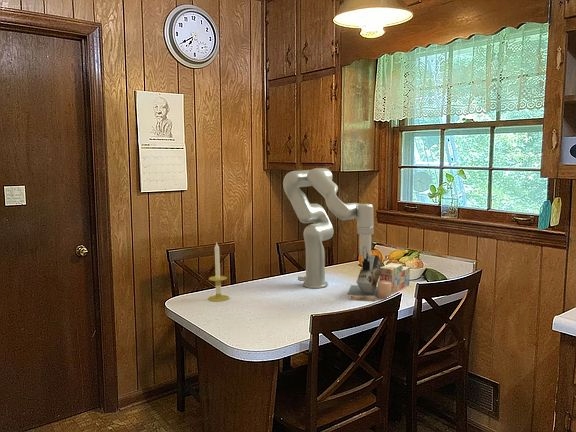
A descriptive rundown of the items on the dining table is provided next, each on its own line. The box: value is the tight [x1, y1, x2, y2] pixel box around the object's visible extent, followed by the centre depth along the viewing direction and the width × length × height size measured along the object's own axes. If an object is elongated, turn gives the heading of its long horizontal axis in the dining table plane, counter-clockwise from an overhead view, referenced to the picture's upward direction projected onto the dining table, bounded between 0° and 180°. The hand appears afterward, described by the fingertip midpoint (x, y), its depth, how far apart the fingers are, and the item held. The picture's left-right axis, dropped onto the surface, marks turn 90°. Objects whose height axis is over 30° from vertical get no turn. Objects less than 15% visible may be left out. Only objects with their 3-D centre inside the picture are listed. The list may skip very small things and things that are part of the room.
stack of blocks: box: [379, 262, 411, 295], centre depth 234 cm, size 21×6×12 cm, turn 143°
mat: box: [347, 284, 378, 297], centre depth 233 cm, size 16×16×1 cm
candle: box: [207, 242, 230, 303], centre depth 223 cm, size 10×10×27 cm
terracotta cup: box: [376, 279, 392, 300], centre depth 221 cm, size 6×6×7 cm
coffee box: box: [356, 254, 384, 294], centre depth 229 cm, size 9×6×16 cm
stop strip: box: [350, 295, 376, 302], centre depth 218 cm, size 11×1×2 cm, turn 76°
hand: (366, 269), depth 225 cm, fingers closed
